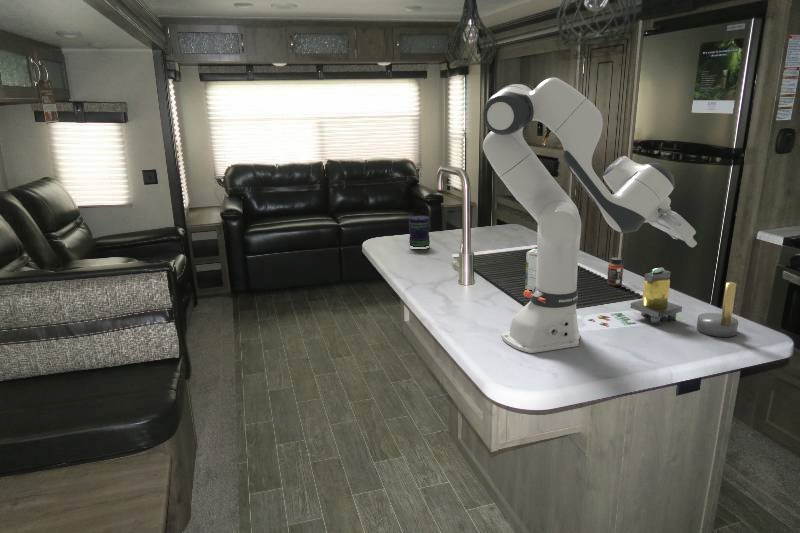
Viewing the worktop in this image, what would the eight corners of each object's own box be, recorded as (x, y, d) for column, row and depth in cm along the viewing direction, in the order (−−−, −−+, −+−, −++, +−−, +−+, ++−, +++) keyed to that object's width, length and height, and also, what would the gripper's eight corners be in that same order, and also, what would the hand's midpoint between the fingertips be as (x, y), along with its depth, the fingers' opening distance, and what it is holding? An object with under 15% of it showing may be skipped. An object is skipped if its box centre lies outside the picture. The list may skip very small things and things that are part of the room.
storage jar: (410, 245, 268) (409, 215, 264) (430, 245, 266) (430, 215, 262) (408, 250, 258) (407, 219, 254) (428, 250, 257) (428, 219, 253)
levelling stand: (657, 327, 159) (662, 275, 154) (629, 316, 167) (633, 267, 163) (680, 321, 163) (686, 270, 158) (652, 311, 172) (657, 262, 167)
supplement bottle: (622, 286, 195) (624, 260, 193) (607, 285, 197) (608, 259, 195) (621, 282, 200) (623, 257, 197) (607, 281, 202) (608, 256, 199)
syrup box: (531, 286, 200) (533, 247, 196) (546, 288, 196) (548, 250, 192) (524, 290, 196) (525, 251, 192) (539, 293, 192) (541, 253, 188)
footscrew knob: (721, 339, 148) (728, 286, 144) (688, 327, 157) (694, 277, 153) (744, 332, 153) (752, 280, 148) (711, 320, 161) (718, 271, 157)
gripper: (679, 204, 133) (715, 241, 135) (645, 192, 152) (677, 225, 155) (659, 222, 134) (695, 259, 136) (628, 208, 154) (659, 240, 156)
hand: (685, 241), depth 146 cm, fingers open, 8 cm apart
